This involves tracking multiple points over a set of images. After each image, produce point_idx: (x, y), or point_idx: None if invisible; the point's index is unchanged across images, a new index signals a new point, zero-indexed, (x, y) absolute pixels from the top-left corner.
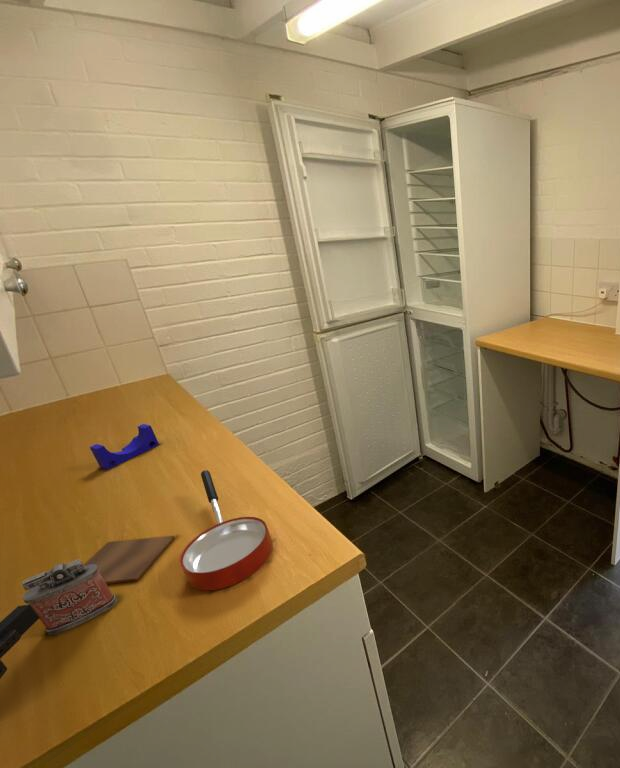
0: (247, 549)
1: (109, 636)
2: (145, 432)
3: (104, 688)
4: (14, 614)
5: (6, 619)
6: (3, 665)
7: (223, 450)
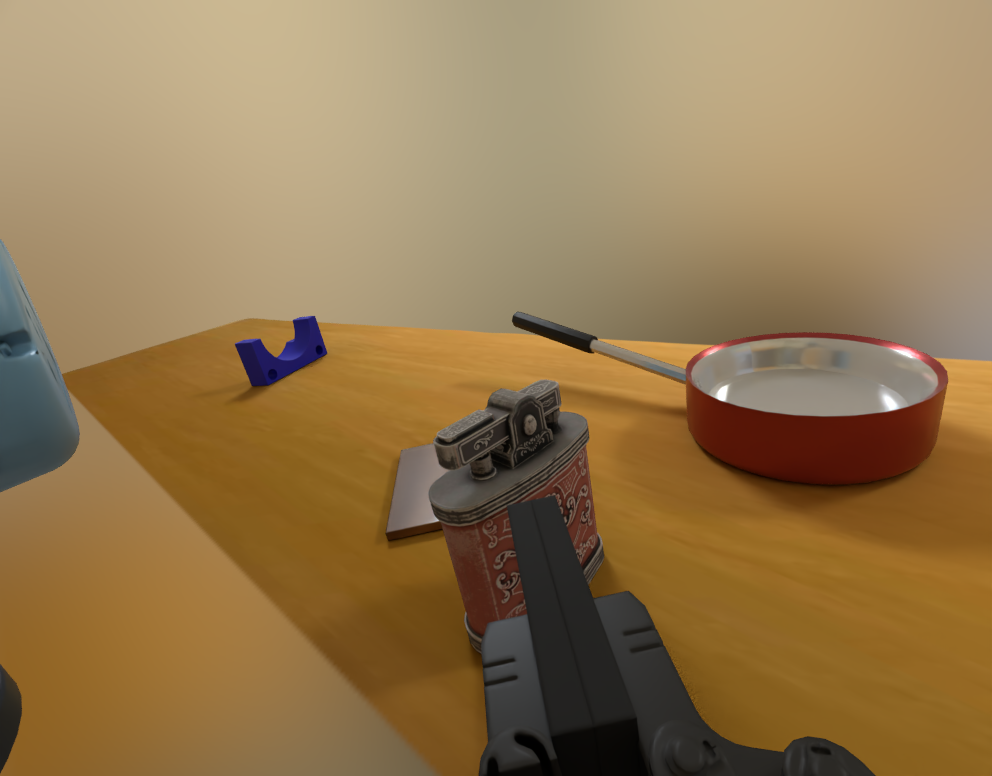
0: (835, 391)
1: (737, 638)
2: (309, 327)
3: None
4: (543, 530)
5: (532, 551)
6: None
7: (453, 338)
